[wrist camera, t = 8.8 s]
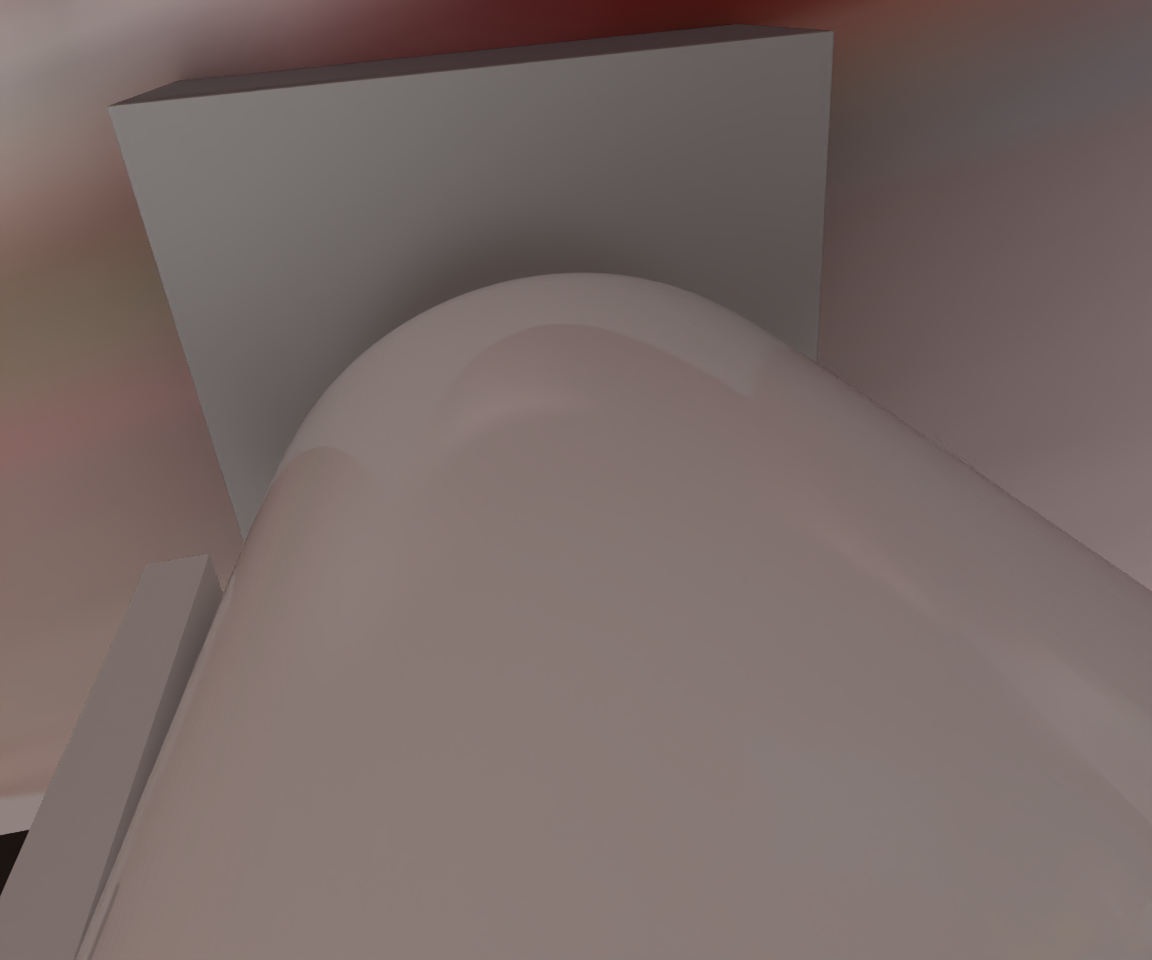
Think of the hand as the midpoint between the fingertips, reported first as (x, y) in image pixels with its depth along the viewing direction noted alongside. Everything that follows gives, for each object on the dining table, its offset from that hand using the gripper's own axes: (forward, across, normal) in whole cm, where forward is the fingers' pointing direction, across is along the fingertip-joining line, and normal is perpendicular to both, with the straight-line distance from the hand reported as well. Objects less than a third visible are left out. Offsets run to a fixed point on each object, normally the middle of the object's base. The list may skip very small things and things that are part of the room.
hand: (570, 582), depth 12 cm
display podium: (+11, 0, 0) cm, 11 cm away
